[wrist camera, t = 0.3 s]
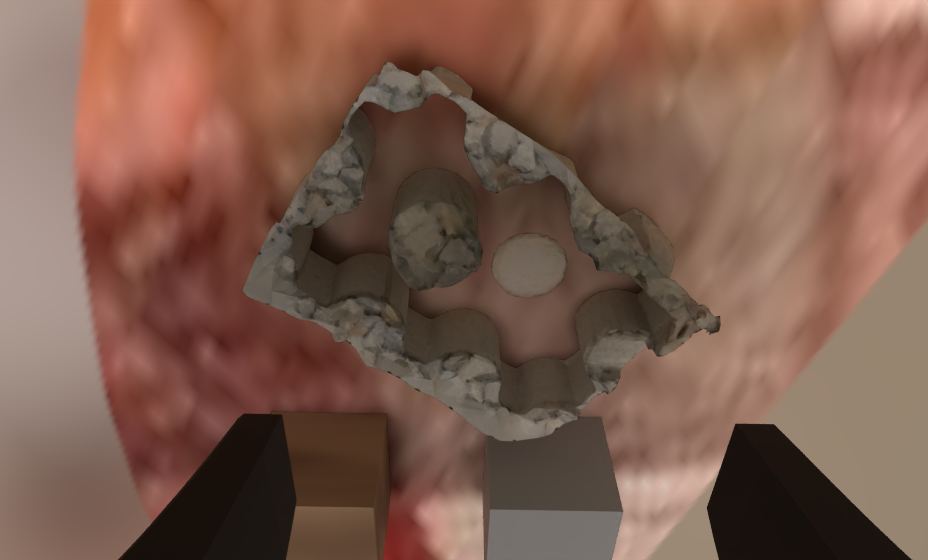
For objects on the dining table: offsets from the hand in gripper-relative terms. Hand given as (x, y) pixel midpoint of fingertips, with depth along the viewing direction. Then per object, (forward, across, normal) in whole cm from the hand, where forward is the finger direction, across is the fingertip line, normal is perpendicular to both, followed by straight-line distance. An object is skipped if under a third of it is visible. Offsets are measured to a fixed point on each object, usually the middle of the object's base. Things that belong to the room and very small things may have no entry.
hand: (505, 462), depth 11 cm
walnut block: (+10, +5, +10) cm, 15 cm away
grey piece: (+10, 0, +1) cm, 10 cm away
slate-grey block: (+10, -2, +10) cm, 14 cm away
